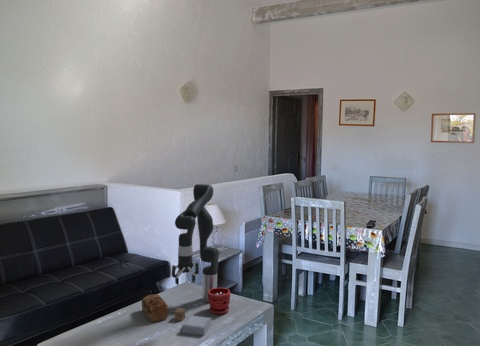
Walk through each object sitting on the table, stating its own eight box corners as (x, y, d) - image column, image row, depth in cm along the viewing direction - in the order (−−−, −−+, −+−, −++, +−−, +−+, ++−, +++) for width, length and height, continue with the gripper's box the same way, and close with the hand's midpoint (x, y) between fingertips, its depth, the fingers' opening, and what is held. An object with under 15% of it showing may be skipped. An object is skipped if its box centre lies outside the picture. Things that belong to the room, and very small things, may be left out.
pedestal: (190, 322, 213) (190, 315, 213) (211, 325, 211) (211, 317, 211) (182, 332, 202) (182, 324, 201) (204, 335, 199) (204, 327, 199)
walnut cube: (177, 316, 221) (177, 308, 220) (185, 317, 220) (185, 309, 219) (174, 320, 216) (174, 311, 216) (182, 321, 215) (182, 312, 215)
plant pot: (231, 306, 235) (231, 287, 235) (228, 316, 222) (228, 295, 222) (209, 305, 237) (210, 286, 236) (205, 314, 224) (206, 294, 223)
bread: (168, 319, 217) (168, 302, 216) (149, 323, 212) (149, 305, 211) (158, 307, 233) (158, 290, 232) (140, 310, 228) (141, 293, 227)
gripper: (195, 250, 211) (195, 279, 213) (170, 253, 205) (170, 282, 207) (200, 253, 205) (200, 283, 206) (174, 257, 198) (174, 287, 200)
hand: (185, 283), depth 206 cm, fingers open, 8 cm apart
